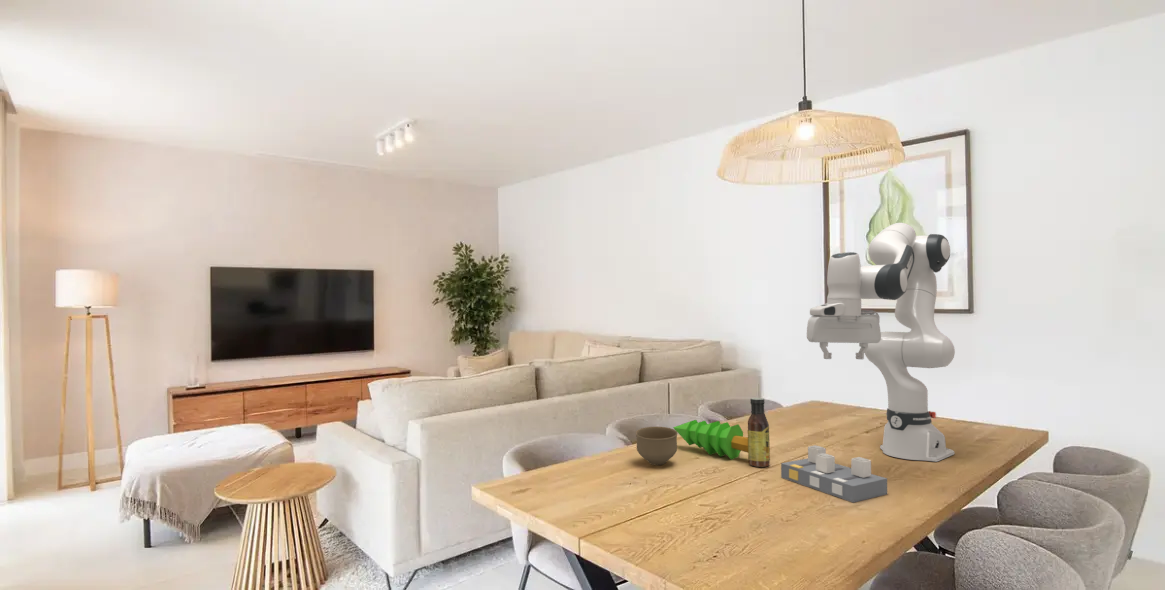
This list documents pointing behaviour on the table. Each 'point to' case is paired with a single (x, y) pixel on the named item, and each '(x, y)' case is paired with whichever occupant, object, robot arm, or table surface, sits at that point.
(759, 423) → the sauce bottle
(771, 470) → the table surface
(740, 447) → the decorative tree
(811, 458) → the knob
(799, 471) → the console
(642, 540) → the table surface
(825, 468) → the knob
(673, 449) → the bowl
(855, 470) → the knob
